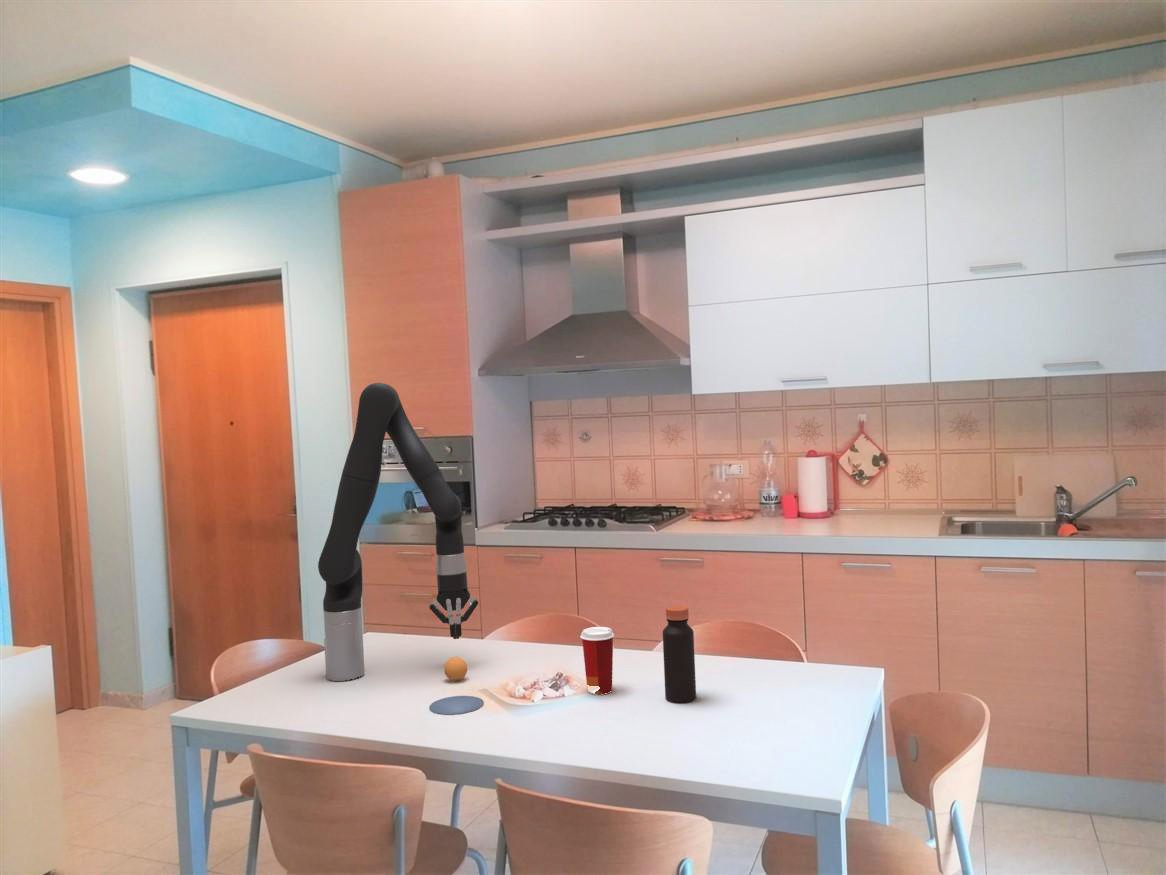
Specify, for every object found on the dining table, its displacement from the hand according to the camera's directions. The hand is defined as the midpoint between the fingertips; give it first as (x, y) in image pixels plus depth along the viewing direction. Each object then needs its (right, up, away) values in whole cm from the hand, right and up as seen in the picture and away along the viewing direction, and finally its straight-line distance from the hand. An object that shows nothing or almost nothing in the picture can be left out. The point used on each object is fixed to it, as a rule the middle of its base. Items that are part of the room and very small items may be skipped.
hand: (456, 638), depth 220 cm
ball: (+1, -5, -10) cm, 11 cm away
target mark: (+4, -8, -28) cm, 30 cm away
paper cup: (+36, -7, -23) cm, 43 cm away
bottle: (+54, -6, -30) cm, 62 cm away
